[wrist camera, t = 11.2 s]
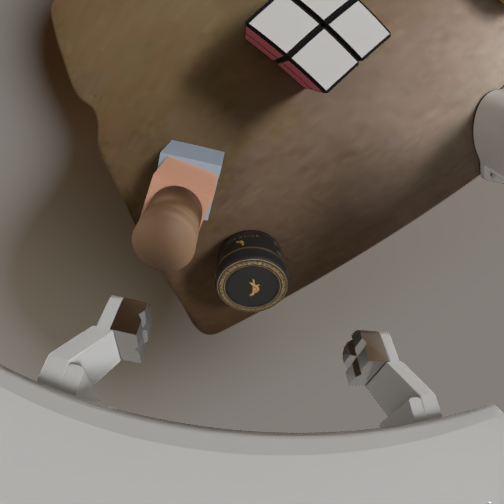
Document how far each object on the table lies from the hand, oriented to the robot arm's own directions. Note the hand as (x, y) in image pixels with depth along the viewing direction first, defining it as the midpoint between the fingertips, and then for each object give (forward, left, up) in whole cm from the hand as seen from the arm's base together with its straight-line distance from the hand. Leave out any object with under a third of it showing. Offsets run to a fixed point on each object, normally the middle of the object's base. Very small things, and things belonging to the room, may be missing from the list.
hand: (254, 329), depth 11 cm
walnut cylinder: (+6, +5, -18) cm, 19 cm away
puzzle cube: (-4, -15, -30) cm, 34 cm away
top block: (+6, +5, -24) cm, 25 cm away
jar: (-4, +17, -30) cm, 34 cm away
